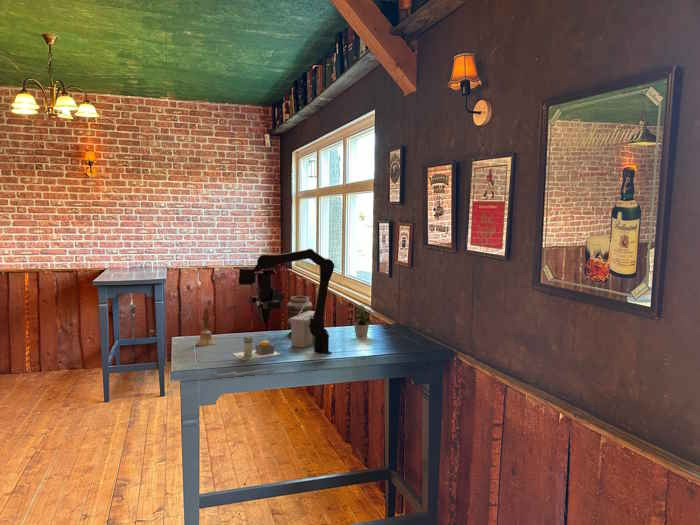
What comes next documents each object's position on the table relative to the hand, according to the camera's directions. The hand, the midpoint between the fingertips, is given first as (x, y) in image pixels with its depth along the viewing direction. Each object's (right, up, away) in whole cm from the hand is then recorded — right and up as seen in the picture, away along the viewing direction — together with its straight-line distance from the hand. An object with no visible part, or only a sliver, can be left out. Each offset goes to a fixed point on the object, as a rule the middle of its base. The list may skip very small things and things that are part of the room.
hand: (264, 323), depth 213 cm
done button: (0, -10, +1) cm, 10 cm away
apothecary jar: (+11, -10, +39) cm, 42 cm away
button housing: (0, -12, +1) cm, 12 cm away
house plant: (+39, -11, +35) cm, 53 cm away
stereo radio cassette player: (+16, -12, +19) cm, 28 cm away
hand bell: (-29, -11, +17) cm, 35 cm away
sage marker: (-6, -12, -6) cm, 15 cm away
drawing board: (-3, -13, -1) cm, 14 cm away
